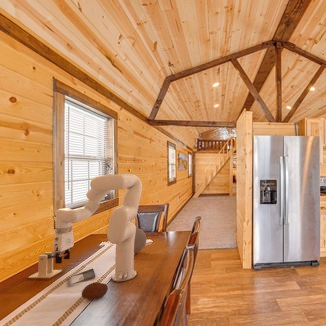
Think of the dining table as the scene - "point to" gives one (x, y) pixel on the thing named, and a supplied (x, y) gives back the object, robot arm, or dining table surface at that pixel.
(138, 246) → the planter
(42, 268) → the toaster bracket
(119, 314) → the dining table surface
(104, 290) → the potato
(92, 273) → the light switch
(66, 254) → the lever
